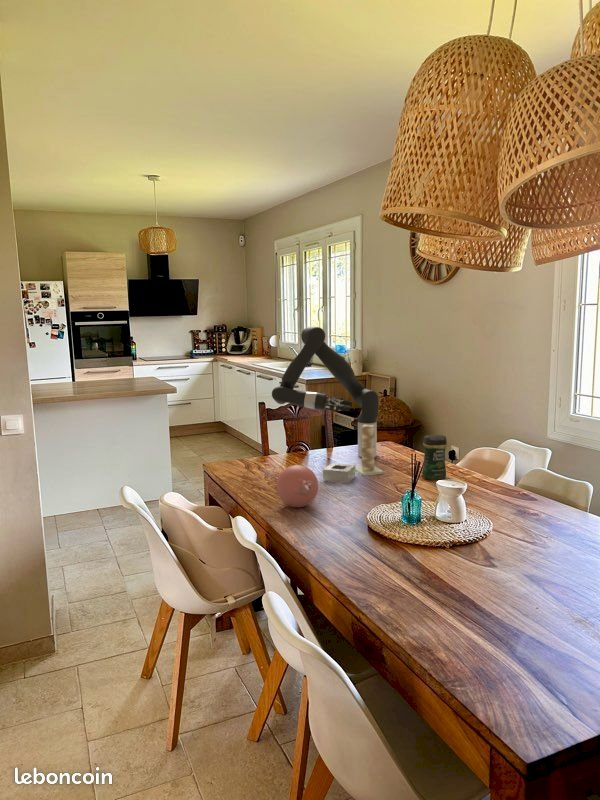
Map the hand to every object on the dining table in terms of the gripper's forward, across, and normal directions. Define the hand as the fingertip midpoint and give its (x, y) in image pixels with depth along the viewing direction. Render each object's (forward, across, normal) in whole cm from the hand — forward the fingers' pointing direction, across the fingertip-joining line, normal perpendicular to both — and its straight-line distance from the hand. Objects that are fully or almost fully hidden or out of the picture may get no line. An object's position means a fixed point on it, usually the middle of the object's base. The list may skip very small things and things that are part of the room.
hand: (350, 406), depth 254 cm
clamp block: (+1, -18, +28) cm, 33 cm away
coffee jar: (+40, -10, +23) cm, 48 cm away
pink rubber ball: (-8, -58, +25) cm, 64 cm away
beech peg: (+12, -5, +26) cm, 29 cm away
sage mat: (+12, -5, +27) cm, 30 cm away
